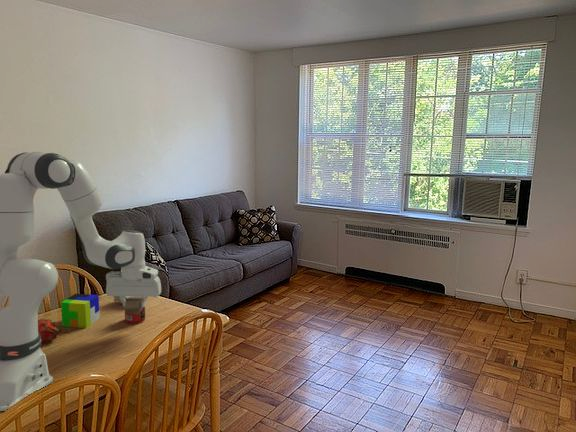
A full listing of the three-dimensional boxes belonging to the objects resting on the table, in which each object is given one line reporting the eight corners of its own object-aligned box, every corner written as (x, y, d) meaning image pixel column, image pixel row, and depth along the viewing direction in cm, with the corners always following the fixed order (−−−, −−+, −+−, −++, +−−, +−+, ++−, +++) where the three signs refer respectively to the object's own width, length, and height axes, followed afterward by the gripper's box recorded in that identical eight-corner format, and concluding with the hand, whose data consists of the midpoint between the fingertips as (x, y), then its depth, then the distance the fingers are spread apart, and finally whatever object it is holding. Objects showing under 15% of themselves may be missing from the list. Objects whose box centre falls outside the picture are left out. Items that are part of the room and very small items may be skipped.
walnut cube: (138, 314, 167) (138, 301, 166) (125, 313, 166) (125, 301, 166) (142, 309, 171) (142, 297, 171) (129, 309, 171) (129, 296, 171)
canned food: (146, 322, 179) (145, 297, 177) (125, 325, 176) (124, 299, 174) (144, 315, 186) (144, 290, 184) (124, 317, 183) (123, 292, 181)
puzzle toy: (99, 317, 183) (98, 295, 181) (86, 328, 173) (85, 304, 171) (76, 316, 183) (75, 293, 182) (62, 326, 174) (60, 302, 172)
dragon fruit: (35, 339, 166) (58, 350, 161) (18, 334, 158) (42, 345, 154) (48, 317, 169) (71, 328, 164) (32, 312, 161) (55, 322, 157)
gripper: (102, 273, 163) (103, 309, 165) (158, 274, 164) (158, 310, 166) (109, 269, 169) (109, 303, 171) (162, 270, 170) (162, 304, 172)
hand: (134, 306), depth 169 cm, fingers closed on walnut cube, 5 cm apart
